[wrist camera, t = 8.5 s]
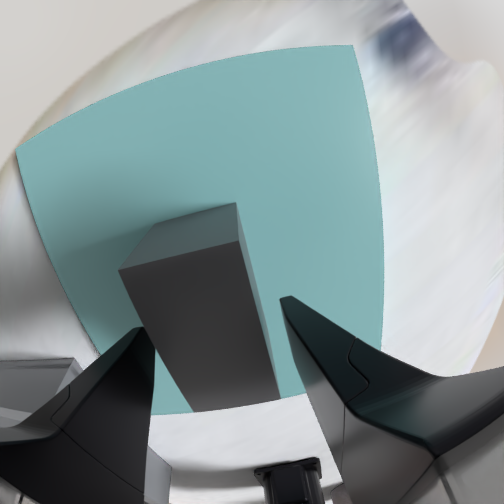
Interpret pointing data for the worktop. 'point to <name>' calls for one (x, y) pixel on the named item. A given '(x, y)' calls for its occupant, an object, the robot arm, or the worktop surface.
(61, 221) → the lid
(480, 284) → the worktop surface
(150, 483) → the tub
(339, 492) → the pillar candle
